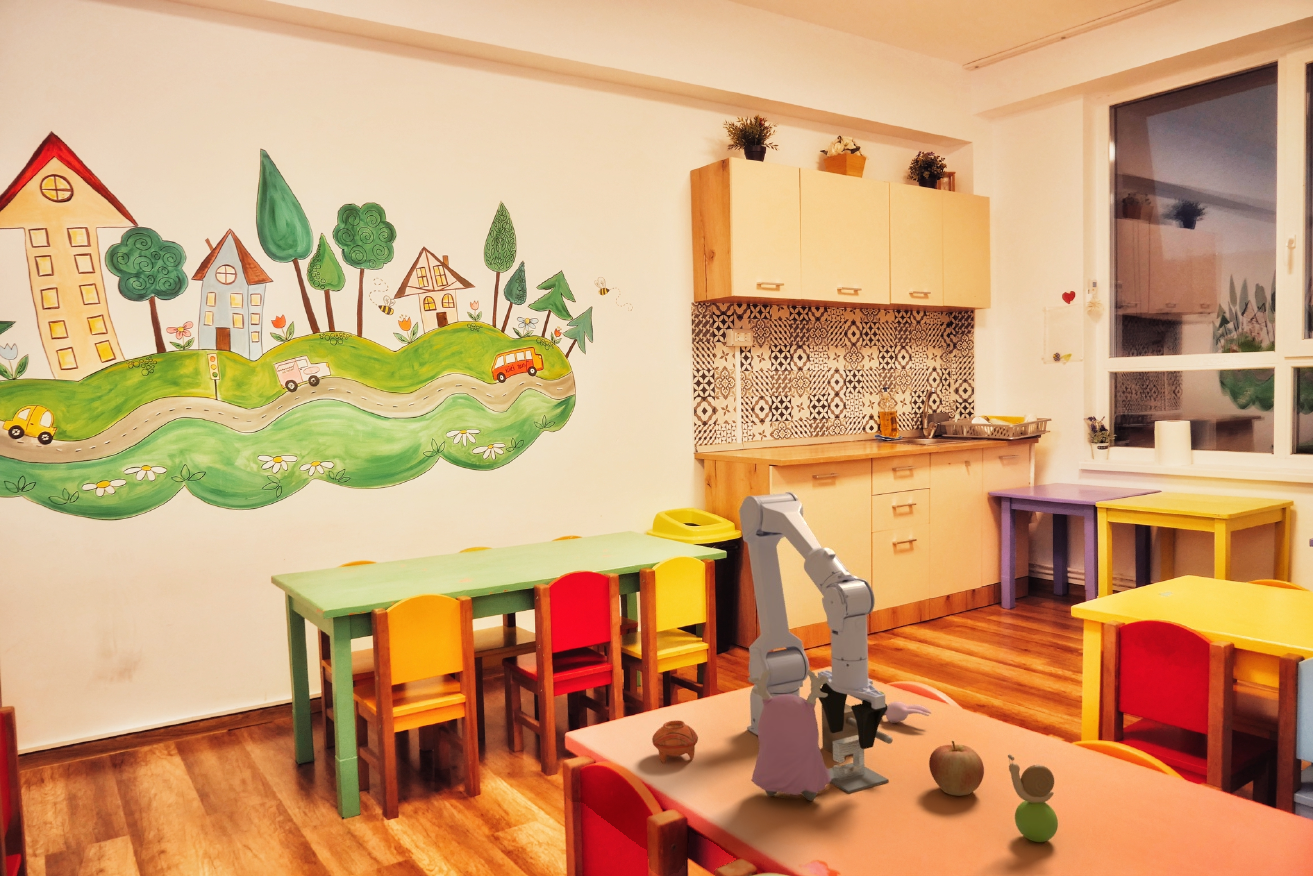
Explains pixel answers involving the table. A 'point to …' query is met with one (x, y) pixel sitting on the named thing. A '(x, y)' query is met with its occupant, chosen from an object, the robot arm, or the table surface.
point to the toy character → (789, 742)
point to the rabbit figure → (902, 711)
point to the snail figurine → (1034, 802)
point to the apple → (956, 769)
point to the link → (846, 748)
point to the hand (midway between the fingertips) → (851, 739)
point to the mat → (858, 780)
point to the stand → (845, 730)
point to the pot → (675, 740)
